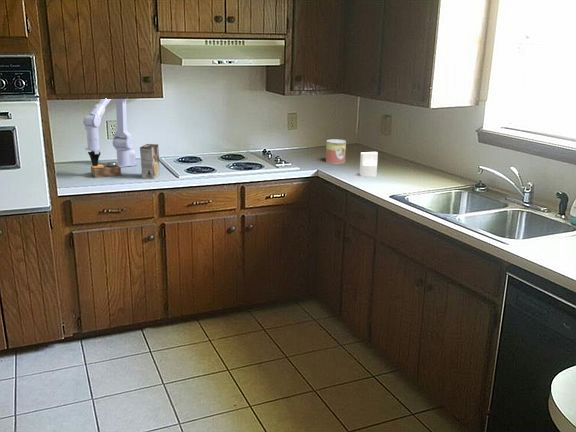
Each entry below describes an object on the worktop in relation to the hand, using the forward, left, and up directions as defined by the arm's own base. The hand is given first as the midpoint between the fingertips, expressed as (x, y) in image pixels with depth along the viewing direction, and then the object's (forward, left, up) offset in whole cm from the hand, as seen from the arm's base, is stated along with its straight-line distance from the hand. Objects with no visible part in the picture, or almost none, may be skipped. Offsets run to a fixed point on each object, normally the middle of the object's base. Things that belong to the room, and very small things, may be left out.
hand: (95, 165), depth 302 cm
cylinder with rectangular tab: (-129, +58, -5) cm, 141 cm away
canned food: (-131, +23, -5) cm, 133 cm away
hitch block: (-5, 0, -5) cm, 7 cm away
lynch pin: (-8, 0, -5) cm, 10 cm away
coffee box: (-25, +14, -5) cm, 29 cm away
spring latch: (-1, 0, -1) cm, 2 cm away
